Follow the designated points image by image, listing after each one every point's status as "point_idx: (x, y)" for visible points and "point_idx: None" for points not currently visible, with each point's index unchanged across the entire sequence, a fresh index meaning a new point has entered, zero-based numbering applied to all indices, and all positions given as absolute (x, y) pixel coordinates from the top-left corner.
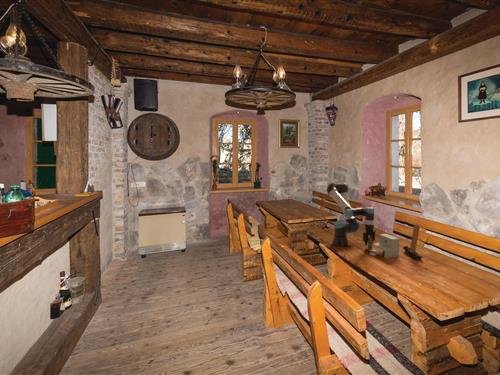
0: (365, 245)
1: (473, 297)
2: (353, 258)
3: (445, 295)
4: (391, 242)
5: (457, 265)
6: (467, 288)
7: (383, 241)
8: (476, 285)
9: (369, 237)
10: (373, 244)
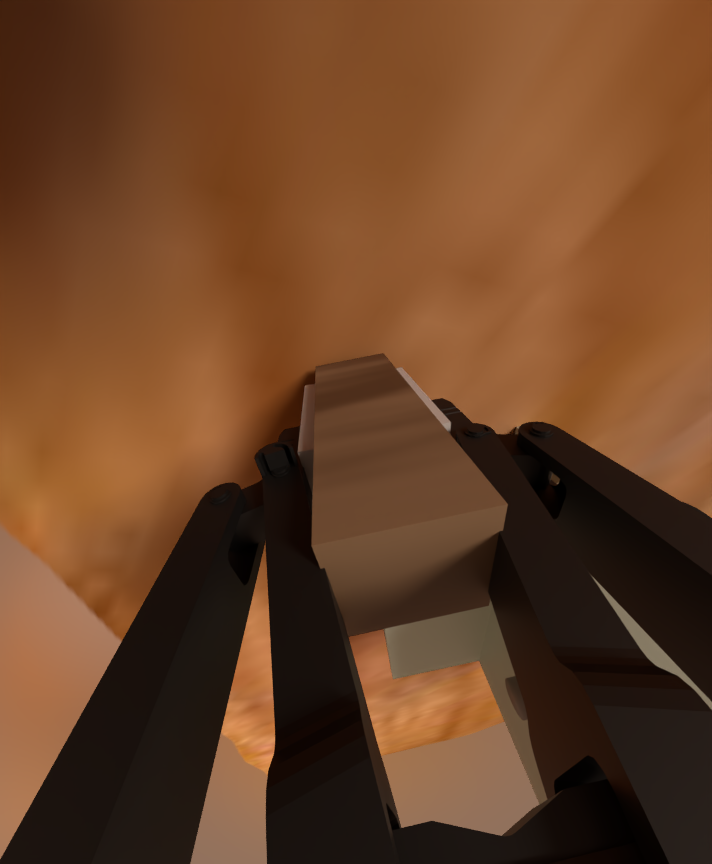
0: (303, 408)
1: (411, 744)
2: (61, 571)
3: None
4: (522, 746)
5: None
6: (446, 725)
7: None
8: (488, 715)
9: (396, 609)
10: None
